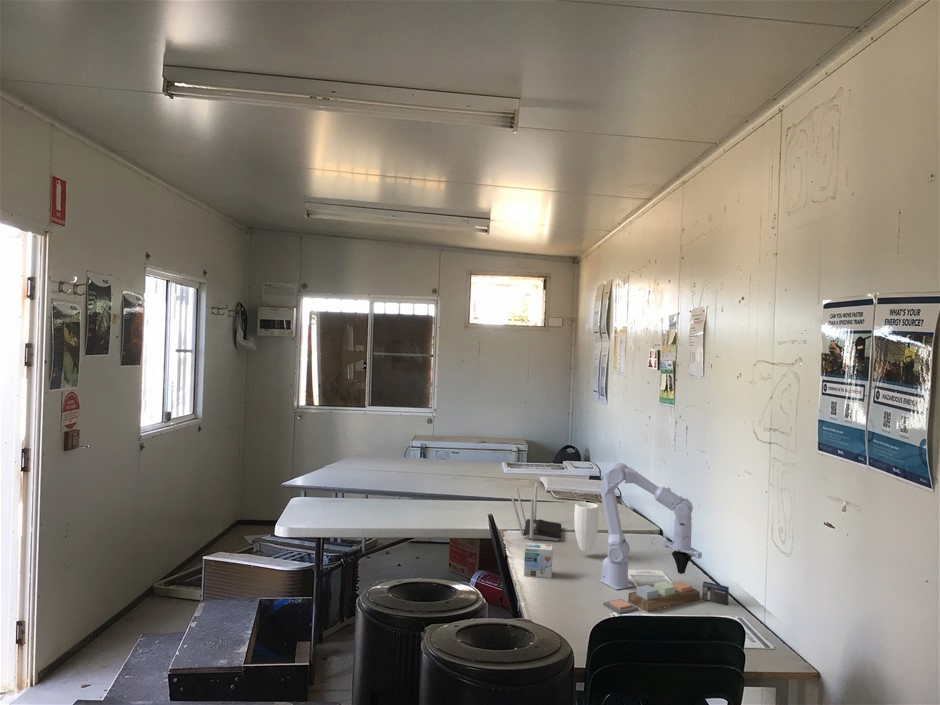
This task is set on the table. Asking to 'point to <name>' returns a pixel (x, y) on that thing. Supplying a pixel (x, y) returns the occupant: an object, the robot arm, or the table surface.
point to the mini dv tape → (715, 593)
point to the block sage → (664, 588)
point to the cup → (586, 524)
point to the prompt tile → (620, 606)
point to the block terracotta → (682, 586)
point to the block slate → (647, 592)
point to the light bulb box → (538, 560)
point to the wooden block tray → (663, 600)
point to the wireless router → (537, 522)
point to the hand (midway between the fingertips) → (681, 573)
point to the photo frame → (645, 574)
